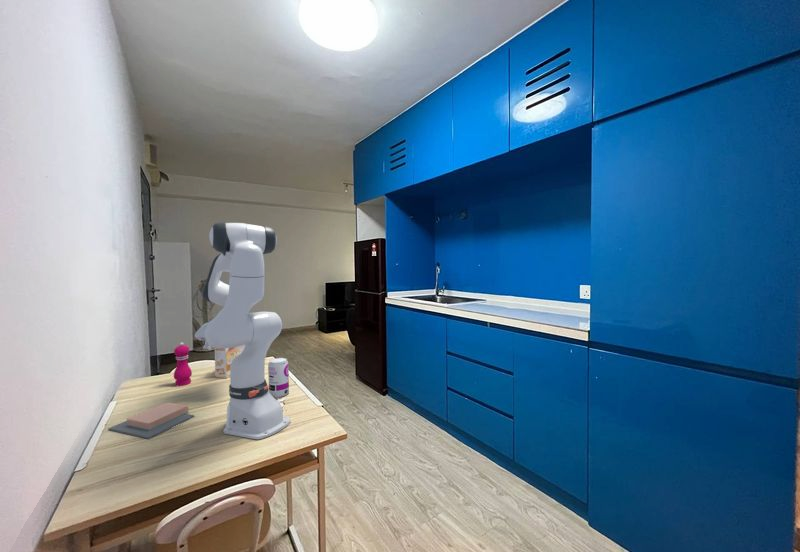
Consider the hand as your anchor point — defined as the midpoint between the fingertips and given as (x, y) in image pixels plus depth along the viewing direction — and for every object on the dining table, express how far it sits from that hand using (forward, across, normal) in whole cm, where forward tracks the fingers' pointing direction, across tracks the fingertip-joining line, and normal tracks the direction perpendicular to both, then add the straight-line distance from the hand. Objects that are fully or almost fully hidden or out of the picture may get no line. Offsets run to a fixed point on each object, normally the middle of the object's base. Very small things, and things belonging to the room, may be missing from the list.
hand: (206, 349), depth 136 cm
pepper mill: (+8, -27, +22) cm, 35 cm away
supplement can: (+7, +27, +24) cm, 36 cm away
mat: (+31, 0, -1) cm, 31 cm away
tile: (+23, 0, +4) cm, 23 cm away
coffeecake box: (-5, -16, +35) cm, 39 cm away
